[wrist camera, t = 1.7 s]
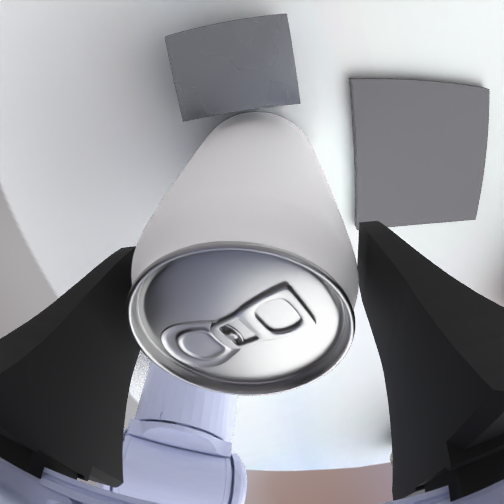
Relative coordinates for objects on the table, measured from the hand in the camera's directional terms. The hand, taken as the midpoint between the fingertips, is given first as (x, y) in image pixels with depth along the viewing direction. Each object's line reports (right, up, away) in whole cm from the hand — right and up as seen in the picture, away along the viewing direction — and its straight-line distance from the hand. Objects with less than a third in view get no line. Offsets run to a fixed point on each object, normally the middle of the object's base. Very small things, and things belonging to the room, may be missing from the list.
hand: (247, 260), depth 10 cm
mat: (+10, +6, +6) cm, 13 cm away
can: (+1, +5, +7) cm, 9 cm away
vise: (0, +5, +7) cm, 9 cm away
